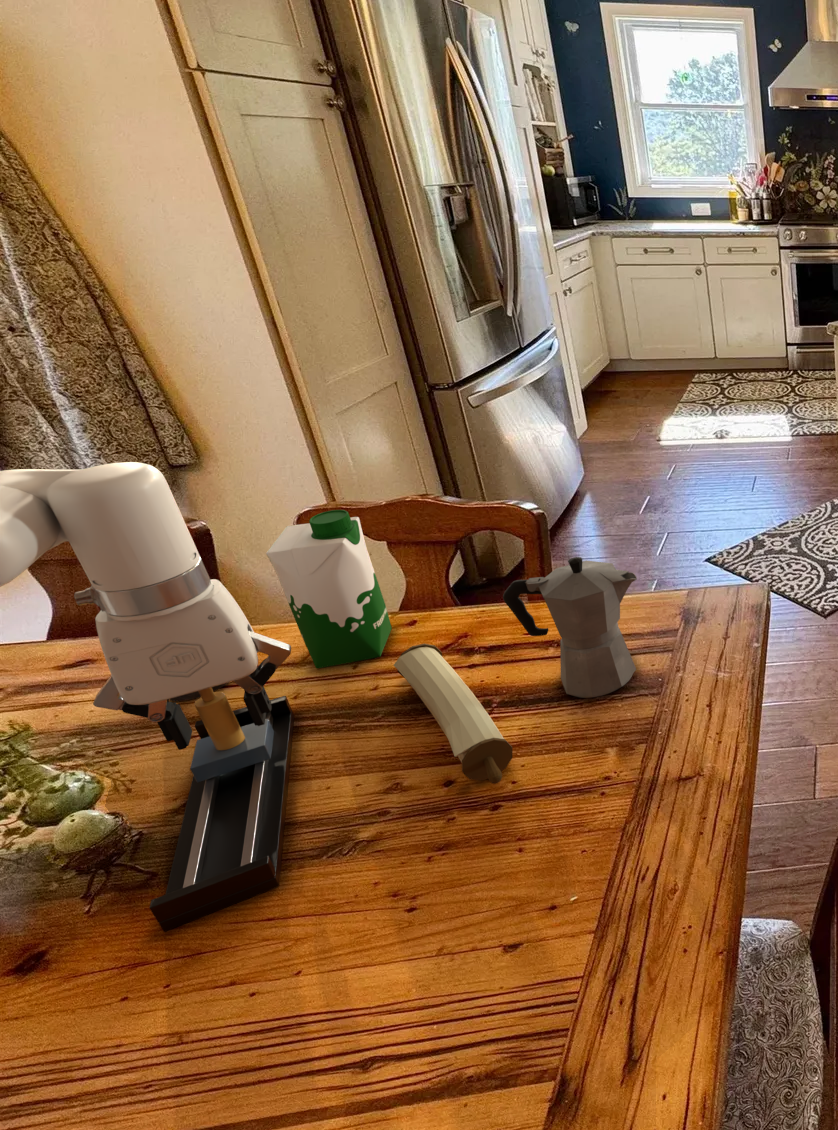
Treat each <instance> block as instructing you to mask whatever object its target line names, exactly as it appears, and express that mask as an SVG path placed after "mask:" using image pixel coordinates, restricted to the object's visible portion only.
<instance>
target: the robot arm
mask: <svg viewBox="0 0 838 1130" xmlns="http://www.w3.org/2000/svg"><path fill="white" fill-rule="evenodd" d="M193 539H194V538H193V537H192V535H191V533H190V531H189V529H188V526H187V524H186V520H185V519H184V518H183V515H182V513H181V510H180V508H179V506H178V504H177V502H176V499H175V497H174V495H173V493H172V490H171V487H170V486H169V484H168V482H167V479H166V478H165V476H164V473H162V472H161V471H160V470H159V469H158V468H156V467H155V466H153V465H151V464H148V463H145V462H137V461H127V462H113V463H105V464H100V465H95V466H90V467H87V468H81V469H43V468H41V469H39V468H38V469H37V468H23V469H22V468H21V469H20V468H18V469H5V470H0V588H1V587H3V586H5V585H7V584H10V582H12V581H13V580H16V579H17V578H18V577H20V575H22V574H23V573H24V572H25V571H26V570H27V569H29V568H30V567H31V566H32V565H33V564H34V563H35V562H36V561H38V559H40V558H41V557H42V556H43V555H44V554H45V553H46V552H48V551H50V550H52V549H53V548H55V547H58V546H59V545H61V544H63V543H65V542H68V543H69V545H70V546H71V549H72V550H73V552H74V555H75V556H76V558H77V561H78V562H79V563H80V566H81V567H82V569H83V572H84V573H85V575H86V577H87V579H88V581H89V582H90V584H91V585H90V587H86V588H85V589H84V590H80V591H75V592H74V593H73V594H74V600H75V603H76V604H77V605H78V606H84V605H96V606H97V607H99V608H100V610H99V612H98V613H97V614H96V616H95V628H96V633H97V637H98V640H99V644H100V647H101V650H102V653H103V654H102V655H103V656H104V659H105V662H106V665H107V667H108V670H109V672H110V675H109V677H108V679H107V680H106V682H105V683H104V684H103V685H102V687H101V688H100V689H99V690H98V692H97V694H96V695H95V697H94V700H93V702H92V704H93V706H94V707H96V708H101V709H106V710H111V711H122V712H123V713H125V714H127V715H131V716H137V717H142V718H147V720H148V721H149V722H150V723H156V724H157V725H158V727H159V729H160V731H161V733H162V734H163V737H164V739H165V740H166V741H167V742H174V744H175V746H176V748H177V750H178V751H181V750H185V749H187V747H189V746H190V743H191V738H192V735H193V728H192V727H191V725H190V722H189V720H188V718H187V717H186V715H185V712H184V711H183V709H182V706H181V705H180V704H179V703H178V704H177V701H170V698H174V697H178V696H181V695H185V694H189V693H192V692H196V691H200V690H203V689H207V688H211V687H214V686H218V685H221V684H225V683H228V682H229V683H231V682H233V683H235V684H236V685H238V687H240V688H241V689H242V690H243V692H244V693H243V703H244V705H245V707H247V709H248V711H249V713H250V715H251V718H252V720H253V722H254V724H255V726H256V725H258V726H261V725H264V724H265V718H266V712H270V711H271V708H272V707H271V702H270V700H271V699H270V697H269V695H268V693H267V691H266V688H265V685H266V683H267V682H268V681H269V680H270V679H271V678H272V677H273V675H274V674H275V673H276V671H277V669H278V668H279V667H280V666H281V665H283V663H285V661H286V660H287V659H288V658H289V657H290V656H291V654H292V646H291V644H289V643H286V642H284V641H280V640H278V639H275V638H272V637H269V636H266V635H263V634H261V633H257V632H255V631H254V629H253V628H252V625H251V624H250V623H251V622H249V620H248V618H247V617H246V615H245V613H244V611H243V610H242V608H241V606H240V605H239V604H238V602H237V601H236V599H235V597H234V596H233V595H232V594H231V593H230V591H229V590H228V589H227V588H226V587H225V585H224V584H223V583H222V582H221V581H220V580H219V579H216V578H213V579H211V577H210V576H209V573H208V570H207V569H206V567H205V564H204V562H203V560H202V558H201V555H200V553H199V551H198V549H197V546H196V543H195V542H194V540H193ZM258 653H260V654H261V653H262V654H264V655H268V656H267V657H266V658H265V659H264V660H262V661H261V663H260V664H259V656H258ZM229 683H228V684H229Z"/></svg>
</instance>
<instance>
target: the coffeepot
mask: <svg viewBox="0 0 838 1130" xmlns="http://www.w3.org/2000/svg"><path fill="white" fill-rule="evenodd" d="M567 563H568V565H564V566H560V567H557V568H555V569H554V570H552V571H551V572H550V573H548V574H547V575H546V576H545V577H544V576H540V577H529V578H528V579H517V580H513V581H512V582H511V583H510V584H509V586H508V587H507V588H506V590H504V592H503V595H502V599H503V602H504V603H505V605H506V606H507V607H508V608H509V609H510V611H511V612H512V614H513V615H514V616H515V618H516V619H517V620H518V621H519V623H520V625H521V626H522V627H523V628H524V629H525V631H526V633H527V634H528V635H529V636H530V637H543V636H547V635H548V632H549V628H548V627H545V628H543V627H542V628H541V627H538V626H537V625H536V622H535V619H534V616H533V615H532V614H531V613H530V612H528V610H527V607H526V605H525V603H524V601H523V600H522V599H521V597H520V595H542V598H543V599H544V602H545V604H546V606H547V609H548V612H549V613H550V615H551V618H552V621H553V622H554V623H553V624H554V625H555V627H556V630H557V632H558V634H559V636H560V638H561V639H560V640H559V641H560V643H559V645H560V680H561V684H562V686H563V689H564V691H565V693H566V695H569V696H572V697H576V698H583V699H589V698H590V699H591V698H598V697H602V696H605V695H609V694H610V693H613V692H615V691H617V690H619V689H621V688H622V687H624V686H625V685H626V684H627V683H628V682H629V681H630V680H631V679H632V677H633V675H634V673H635V672H636V671H637V667H636V665H635V663H634V659H633V657H632V655H631V653H630V651H629V648H628V646H627V643H626V641H625V639H624V635H623V634H622V633H623V632H622V631H621V629H620V627H619V623H618V622H619V621H620V620H621V603H622V601H623V599H624V597H625V595H626V593H627V591H628V589H629V588H630V586H631V585H632V583H634V582H635V581H637V580H638V577H637V575H636V574H635V573H634V572H630V571H628V570H622V569H621V570H620V569H616V567H615V565H614V564H613V562H604V561H595V560H588V559H587V560H583V557H581V556H574V557H571V558H569V559H568V560H567Z"/></svg>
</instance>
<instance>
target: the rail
mask: <svg viewBox="0 0 838 1130" xmlns="http://www.w3.org/2000/svg"><path fill="white" fill-rule="evenodd" d="M269 700H270V702H271V707H272V708H271V711H270V712H266V718H265V720H266V719H268V720H269V722H270V724H271V726H272V728H273V731H274V736H273V744H272V753H271V759H269V760H265V761H262V762H259V763H256V764H253V765H250V766H247V767H244V768H241V769H238V770H235V771H231V772H228V773H225V774H222V775H219V776H216V777H213V778H210V779H207V780H204V781H201V782H197V781H196V779H195V777H194V775H193V774H192V779H191V784H190V788H189V792H188V797H187V800H186V805H185V808H184V813H183V817H182V822H181V826H180V830H179V835H178V839H177V843H176V848H175V852H174V855H173V860H172V864H171V869H170V874H169V877H168V882H167V887H166V891H165V894H163V895H161V896H158V897H155V898H153V899H151V900H150V904H149V911H150V912H151V914H152V915H153V916H154V918H155V920H156V921H157V923H158V925H159V926H160V928H161V929H162V931H163V932H167V931H170V930H172V929H175V928H177V927H180V926H183V925H185V924H187V923H190V922H192V921H195V920H197V919H201V918H203V917H205V916H208V915H210V914H213V913H215V912H218V911H221V910H222V909H225V908H227V907H230V906H233V905H236V904H238V903H241V902H243V901H246V900H248V899H250V898H254V897H257V896H259V895H261V894H264V893H266V892H269V891H271V890H274V889H276V888H279V887H280V883H281V872H282V871H281V870H282V859H283V848H284V838H285V825H286V817H287V816H286V815H287V803H288V793H289V781H290V771H291V770H290V769H291V759H292V747H293V738H294V737H293V736H294V725H295V714H294V712H293V709H292V707H291V704H290V702H289V699H288V697H287V695H283V696H279V697H276V698H271V699H269ZM233 712H234V714H235V716H236V719H237V721H238V723H239V725H240V727H242V726H246V725H249V724H252V723H254V722H253V720H252V718H251V715H250V713H249V711H248V709H247V707H246V706H244V707H242V708H238V709H234V710H233ZM194 729H195V730H196V732H197V734H198V736H199V739H202V738H206V737H209V734H208V732H207V730H206V728H205V726H204V723H203V721H202V719H200V720H197V721H195V724H194Z"/></svg>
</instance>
